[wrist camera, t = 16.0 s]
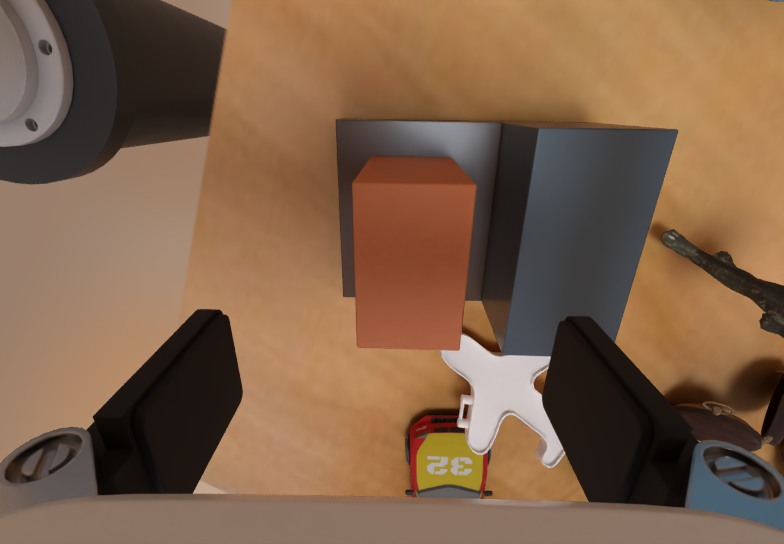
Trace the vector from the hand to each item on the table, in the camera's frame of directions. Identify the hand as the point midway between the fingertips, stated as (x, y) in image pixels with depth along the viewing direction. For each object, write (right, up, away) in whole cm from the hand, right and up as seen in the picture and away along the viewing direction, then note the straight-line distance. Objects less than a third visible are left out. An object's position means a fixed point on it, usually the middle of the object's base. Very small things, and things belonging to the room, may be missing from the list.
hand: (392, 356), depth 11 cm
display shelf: (+5, +7, +16) cm, 18 cm away
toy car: (+5, -18, +27) cm, 33 cm away
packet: (+1, +6, +14) cm, 15 cm away
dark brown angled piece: (+26, -11, +19) cm, 34 cm away
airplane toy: (+10, -8, +20) cm, 24 cm away
